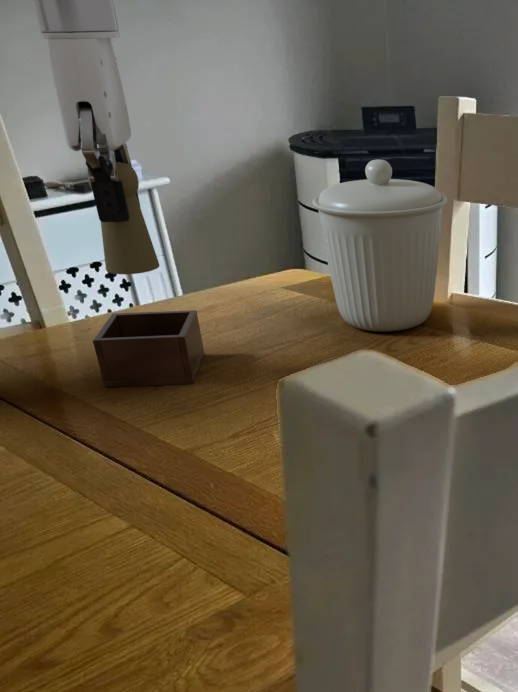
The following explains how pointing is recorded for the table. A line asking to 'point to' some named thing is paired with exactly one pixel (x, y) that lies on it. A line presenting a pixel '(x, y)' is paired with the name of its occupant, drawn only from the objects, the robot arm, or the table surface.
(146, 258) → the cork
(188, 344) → the box
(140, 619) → the table surface
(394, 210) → the canister
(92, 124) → the robot arm
